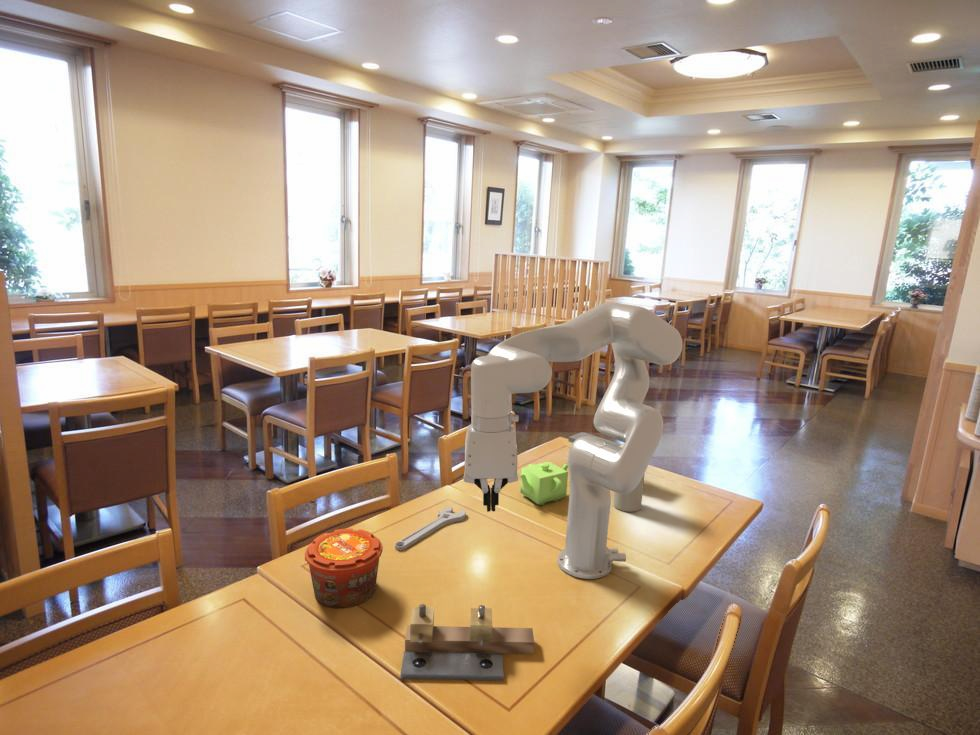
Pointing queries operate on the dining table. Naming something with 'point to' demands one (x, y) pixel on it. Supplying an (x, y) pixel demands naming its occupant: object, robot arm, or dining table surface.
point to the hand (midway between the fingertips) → (490, 508)
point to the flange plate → (452, 666)
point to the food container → (344, 567)
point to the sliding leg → (481, 625)
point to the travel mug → (629, 498)
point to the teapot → (544, 482)
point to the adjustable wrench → (431, 527)
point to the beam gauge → (462, 637)
